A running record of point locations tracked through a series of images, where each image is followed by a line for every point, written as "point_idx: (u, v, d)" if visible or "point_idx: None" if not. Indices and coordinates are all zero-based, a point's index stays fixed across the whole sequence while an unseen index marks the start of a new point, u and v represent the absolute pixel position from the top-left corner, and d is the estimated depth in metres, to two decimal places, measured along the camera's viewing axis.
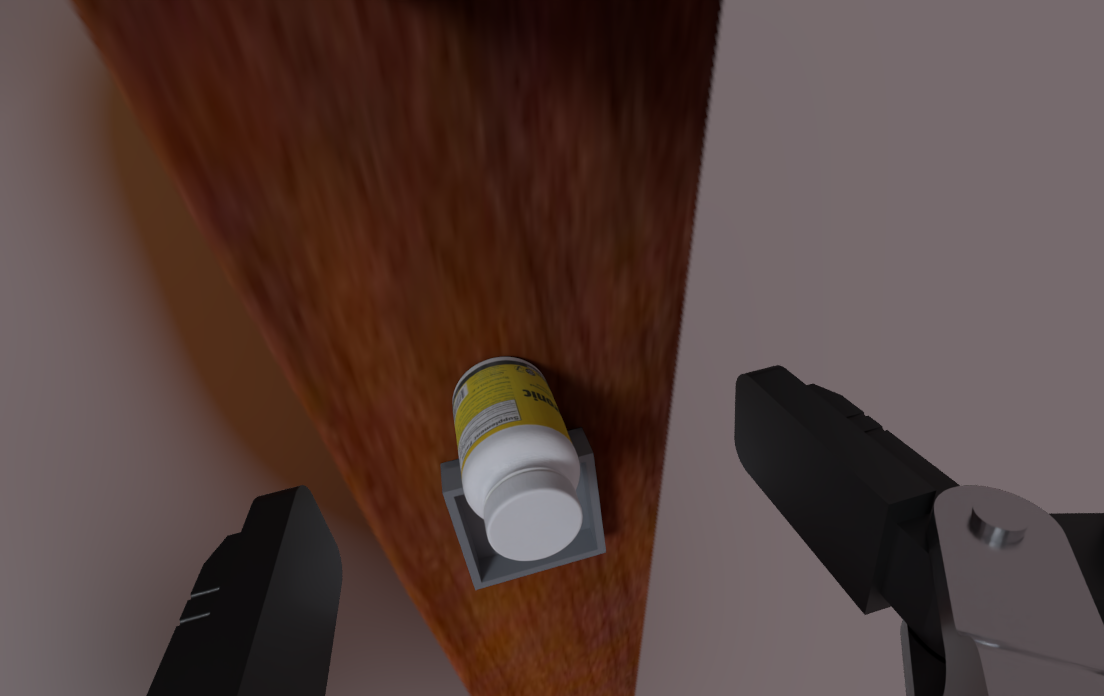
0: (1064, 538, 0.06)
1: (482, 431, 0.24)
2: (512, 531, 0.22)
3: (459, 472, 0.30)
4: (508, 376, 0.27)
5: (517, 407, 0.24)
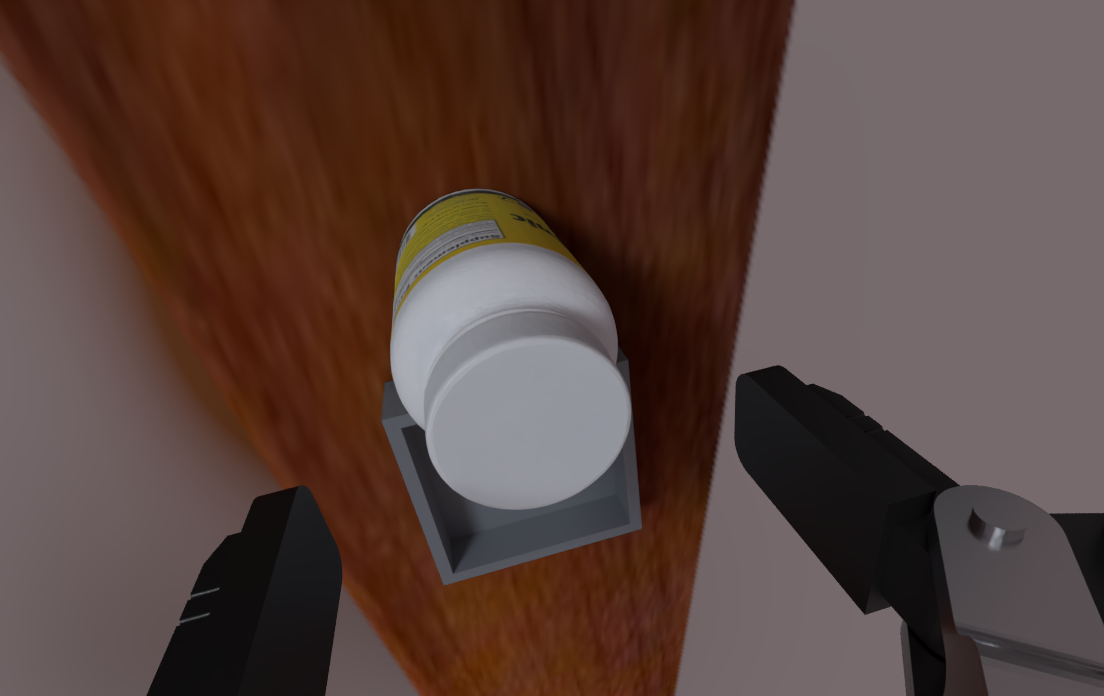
0: (1064, 538, 0.06)
1: (430, 262, 0.12)
2: (482, 439, 0.10)
3: None
4: (486, 202, 0.15)
5: (499, 226, 0.13)
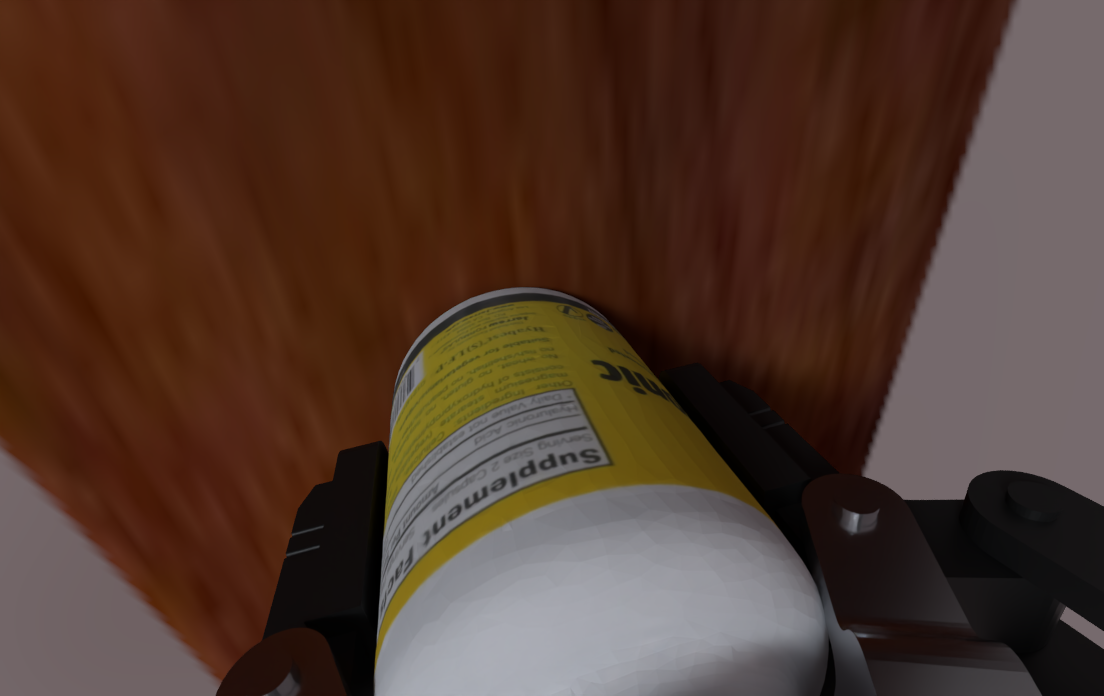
0: (912, 521, 0.06)
1: (455, 512, 0.06)
2: None
3: None
4: (544, 327, 0.09)
5: (587, 415, 0.07)
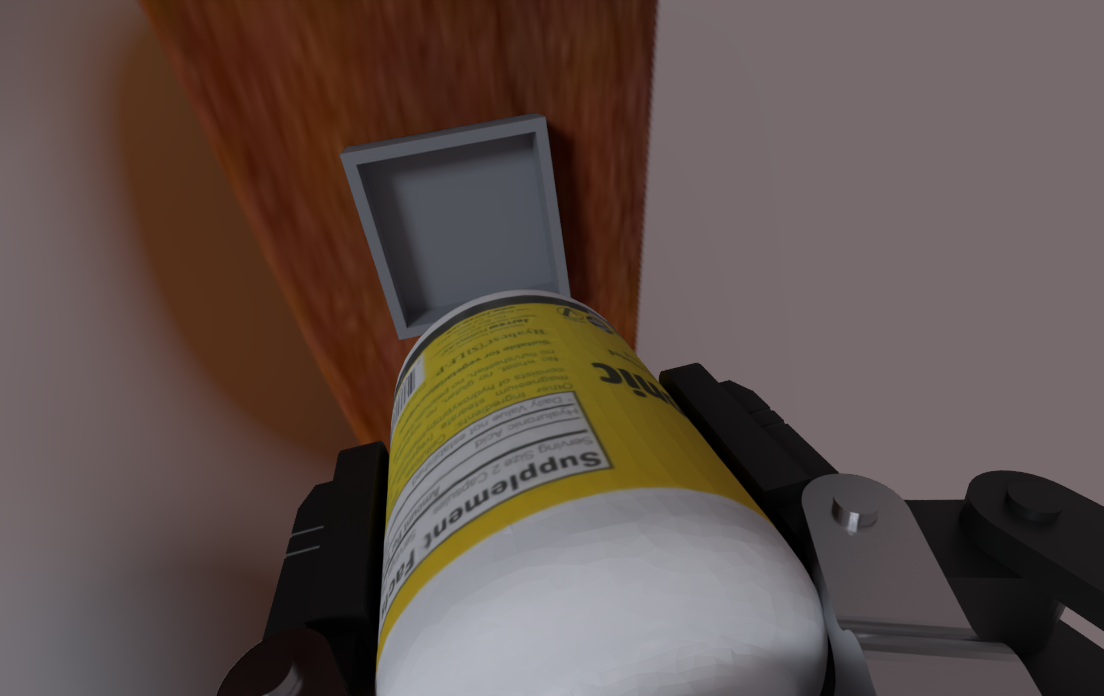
0: (911, 521, 0.06)
1: (456, 514, 0.06)
2: None
3: (367, 145, 0.23)
4: (544, 330, 0.09)
5: (588, 418, 0.07)
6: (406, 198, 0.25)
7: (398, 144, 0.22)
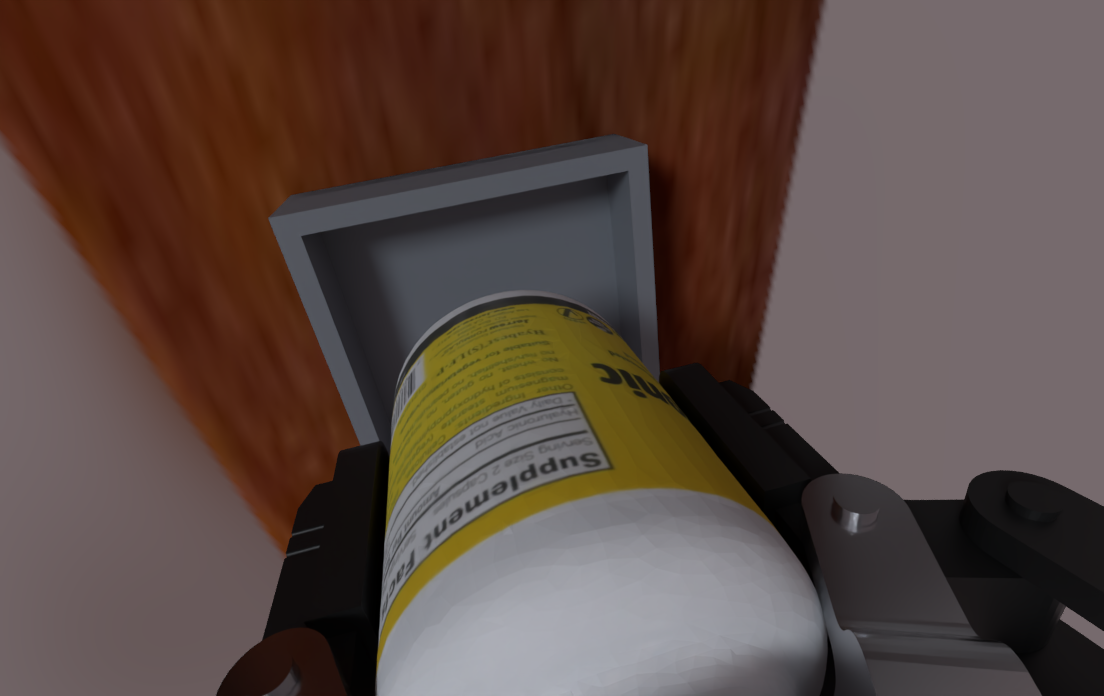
0: (911, 521, 0.06)
1: (457, 516, 0.06)
2: None
3: (325, 196, 0.13)
4: (544, 330, 0.09)
5: (589, 419, 0.07)
6: (397, 279, 0.15)
7: (379, 198, 0.12)
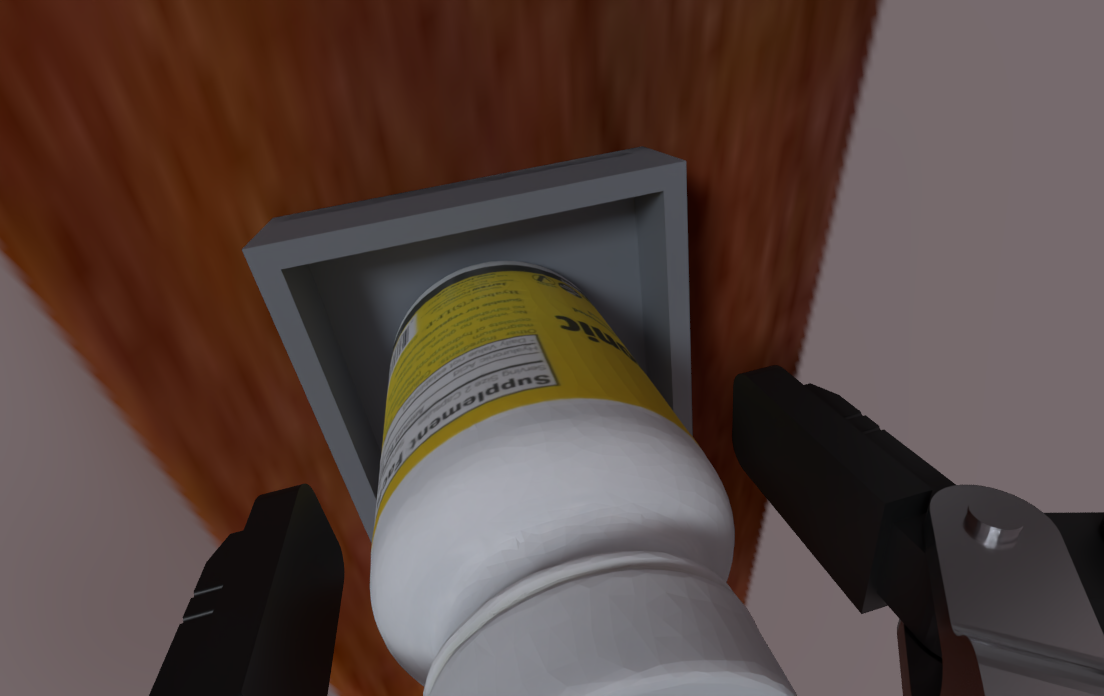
0: (1059, 537, 0.06)
1: (436, 423, 0.07)
2: None
3: (311, 221, 0.11)
4: (518, 290, 0.11)
5: (544, 353, 0.08)
6: (395, 312, 0.13)
7: (374, 224, 0.10)
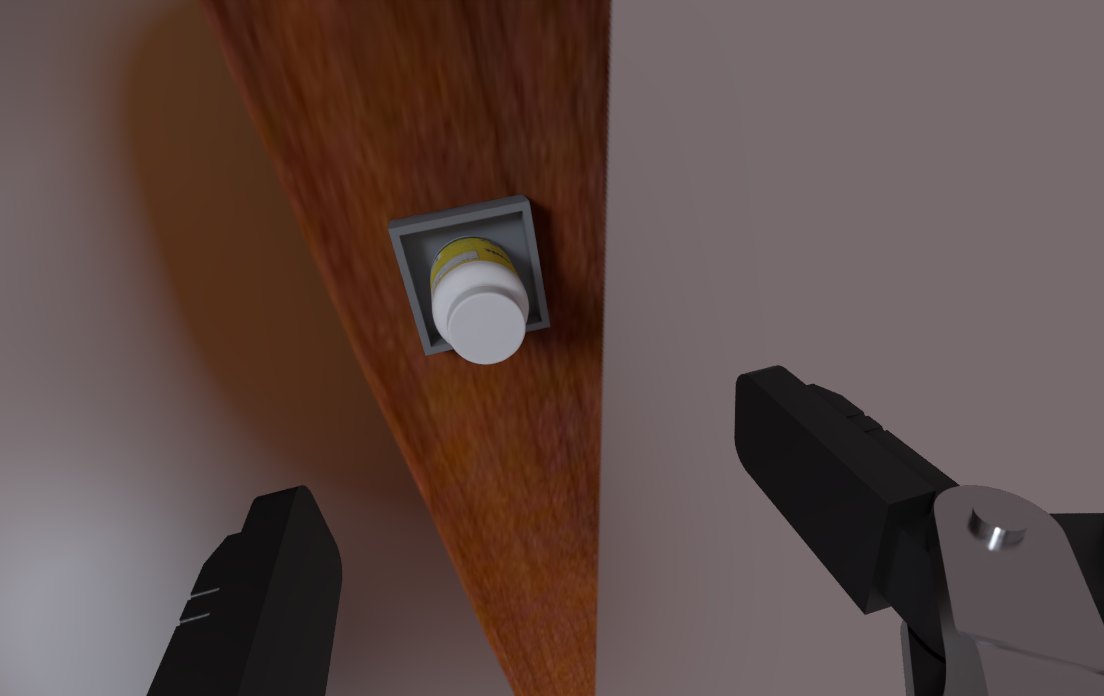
0: (1064, 538, 0.06)
1: (448, 269, 0.29)
2: (468, 331, 0.27)
3: (406, 221, 0.33)
4: (474, 242, 0.33)
5: (478, 254, 0.30)
6: (431, 255, 0.35)
7: (428, 221, 0.32)
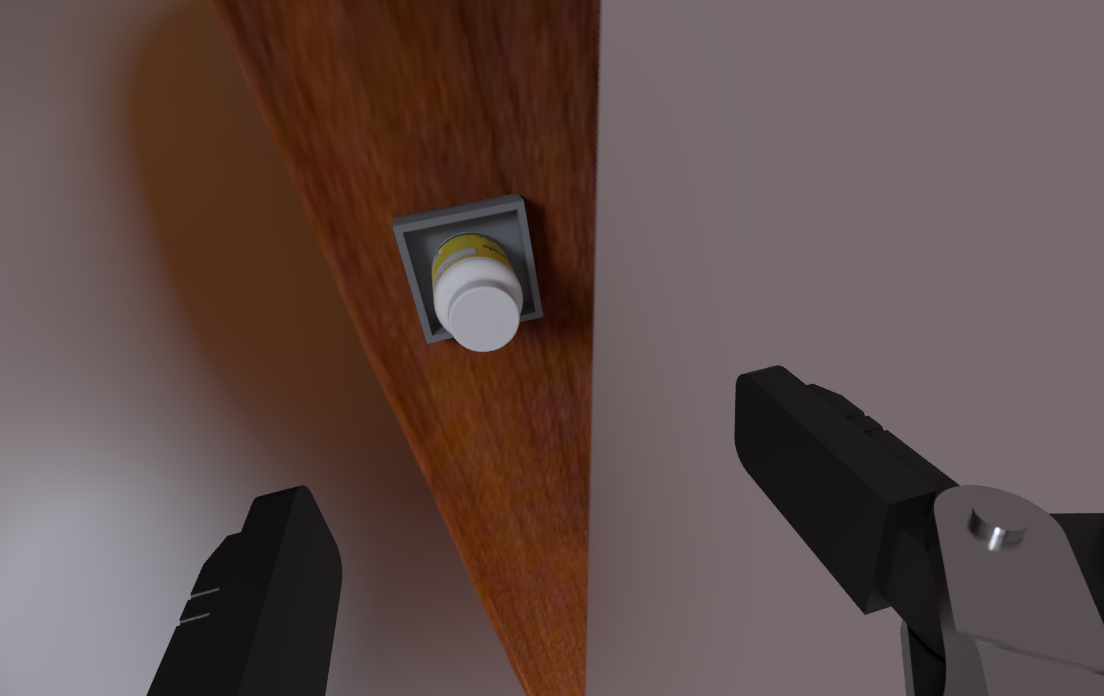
0: (1064, 538, 0.06)
1: (449, 264, 0.32)
2: (467, 322, 0.30)
3: (409, 218, 0.36)
4: (472, 239, 0.35)
5: (476, 250, 0.33)
6: (432, 250, 0.37)
7: (429, 219, 0.35)
